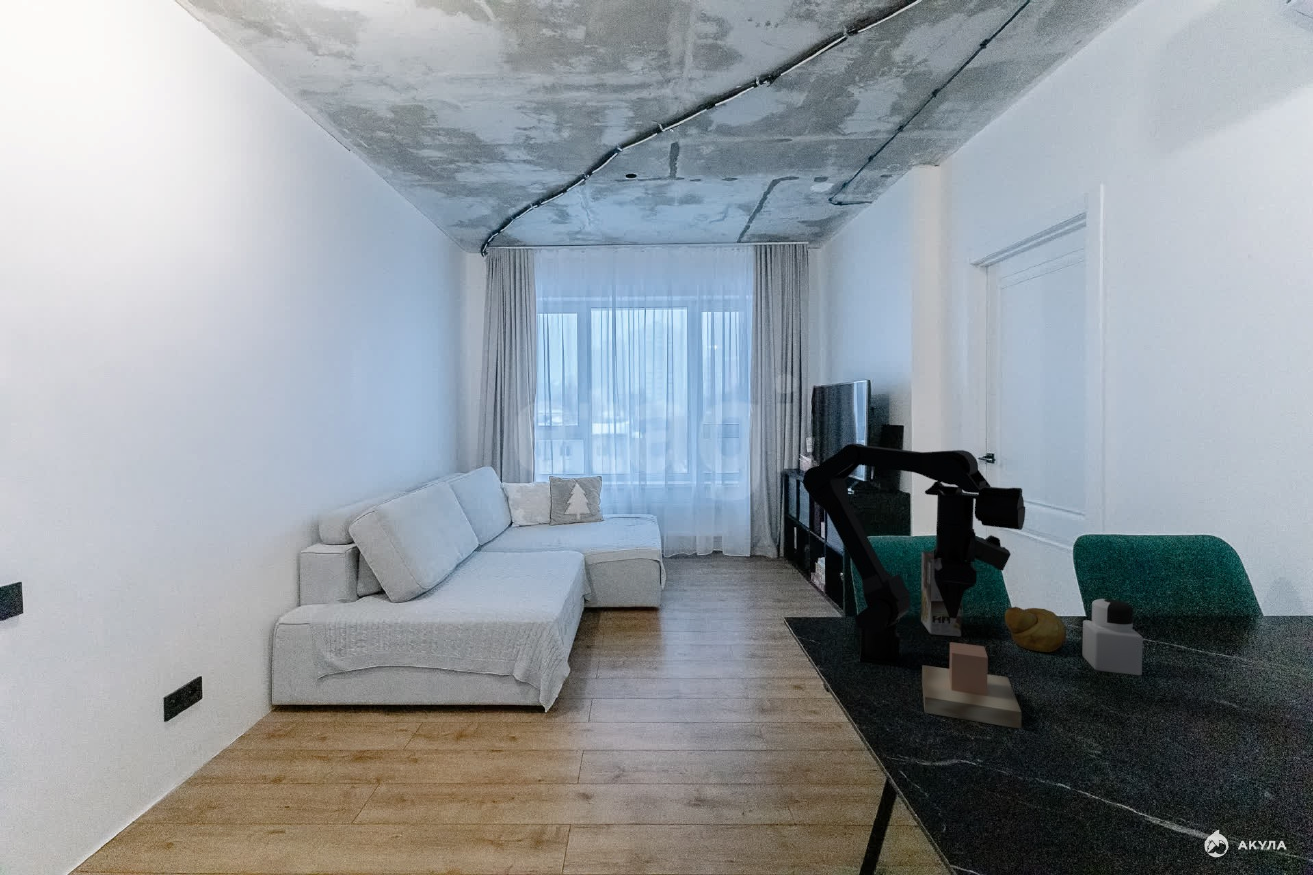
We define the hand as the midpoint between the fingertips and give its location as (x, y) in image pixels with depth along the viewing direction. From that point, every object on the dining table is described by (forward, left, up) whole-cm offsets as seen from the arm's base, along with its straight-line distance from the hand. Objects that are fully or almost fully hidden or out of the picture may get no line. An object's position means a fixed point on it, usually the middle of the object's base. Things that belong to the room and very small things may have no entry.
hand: (952, 609), depth 107 cm
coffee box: (0, +26, -12) cm, 29 cm away
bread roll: (+18, +24, -12) cm, 32 cm away
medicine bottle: (+28, +16, -12) cm, 34 cm away
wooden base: (+2, -10, -12) cm, 15 cm away
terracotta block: (+2, -10, -9) cm, 14 cm away
